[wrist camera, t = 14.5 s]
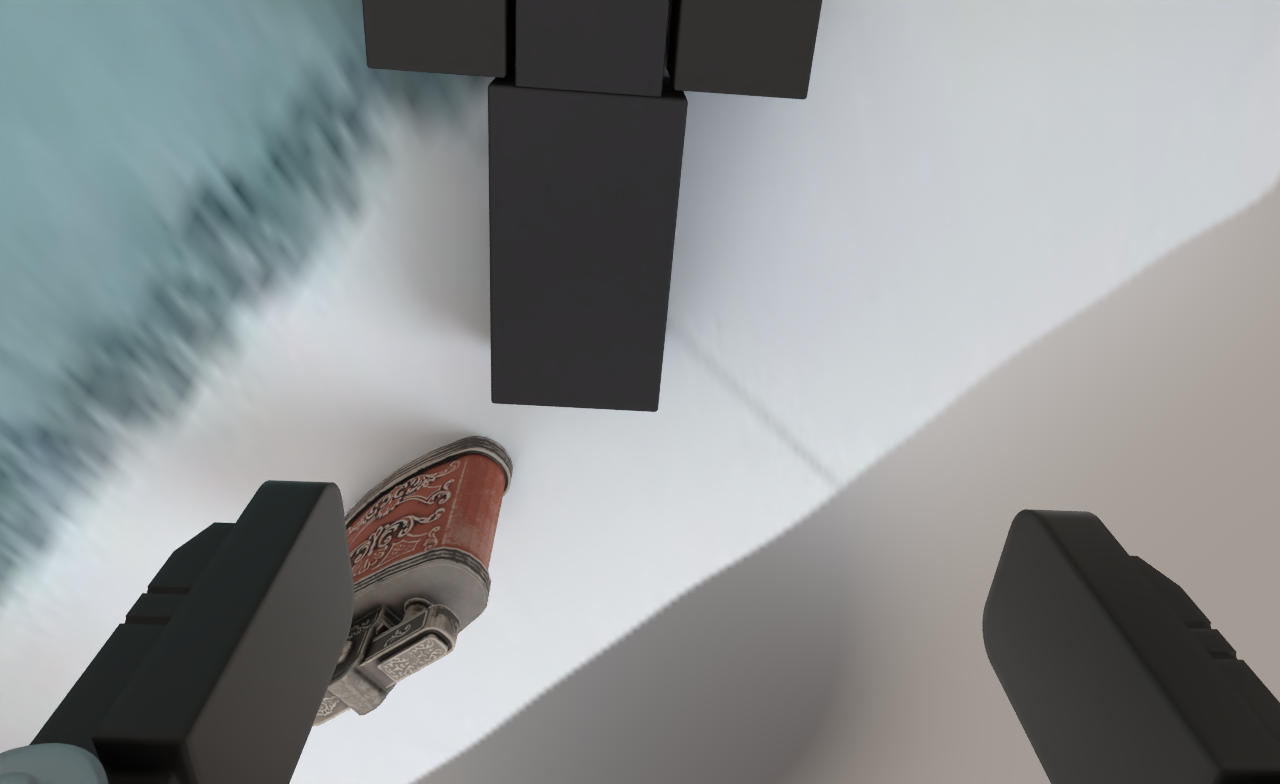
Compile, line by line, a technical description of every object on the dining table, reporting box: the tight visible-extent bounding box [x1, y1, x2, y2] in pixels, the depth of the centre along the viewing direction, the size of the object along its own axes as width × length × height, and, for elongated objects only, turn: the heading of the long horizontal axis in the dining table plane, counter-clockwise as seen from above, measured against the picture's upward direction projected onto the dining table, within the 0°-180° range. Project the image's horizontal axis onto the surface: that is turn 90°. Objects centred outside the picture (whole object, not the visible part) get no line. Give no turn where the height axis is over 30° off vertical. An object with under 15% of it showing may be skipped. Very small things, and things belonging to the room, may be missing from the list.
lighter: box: [312, 437, 513, 726], centre depth 30 cm, size 8×3×10 cm, turn 124°
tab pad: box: [488, 0, 688, 412], centre depth 27 cm, size 6×13×4 cm, turn 176°
